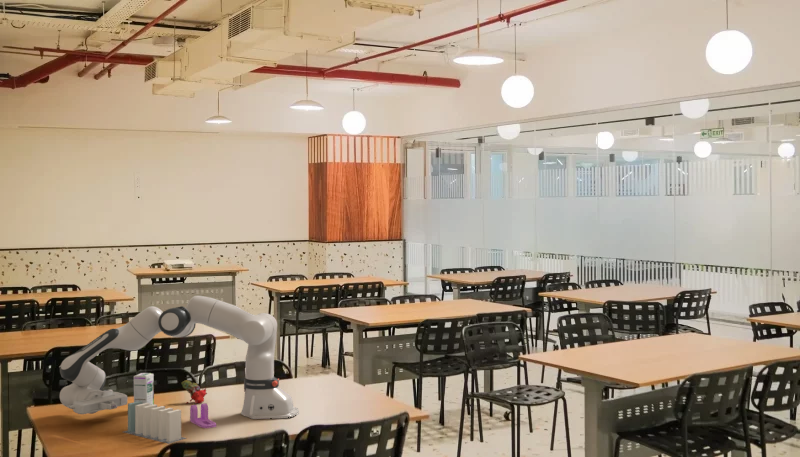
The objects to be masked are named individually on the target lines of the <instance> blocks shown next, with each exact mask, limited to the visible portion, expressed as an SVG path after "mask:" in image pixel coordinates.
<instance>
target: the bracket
mask: <svg viewBox="0 0 800 457" xmlns="http://www.w3.org/2000/svg"><path fill="white" fill-rule="evenodd" d="M189 410H190V411H189V414H190V415H189V416H190V417H189V420H190V421H189V422H190V423H192V424H194V425H196V426H198V427H200V428H203V429H211V428H217V423H216V422H215V421H213V420H211V419H210V418H209V407H208V403H205V402H203V403H201V404H200V417H198V416H199V413H198V412H199V411H198V405H196V404H193V405H192V404H191V405H190V408H189Z"/></svg>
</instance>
